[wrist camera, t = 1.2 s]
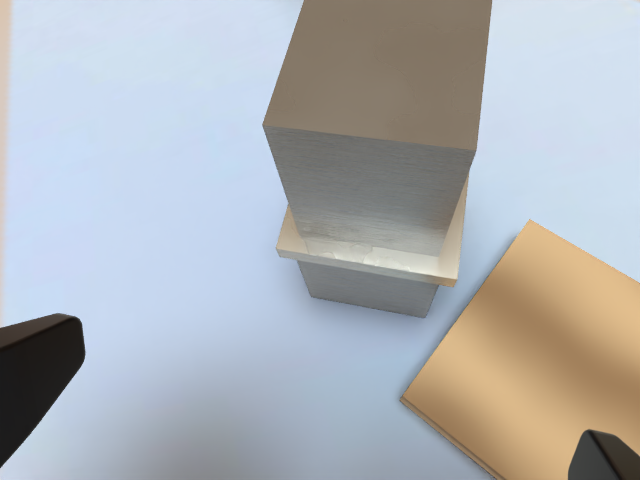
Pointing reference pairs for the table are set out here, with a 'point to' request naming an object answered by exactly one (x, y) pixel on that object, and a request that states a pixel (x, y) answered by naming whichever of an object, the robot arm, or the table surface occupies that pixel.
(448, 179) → the block
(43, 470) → the table surface
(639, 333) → the stand
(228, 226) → the table surface
